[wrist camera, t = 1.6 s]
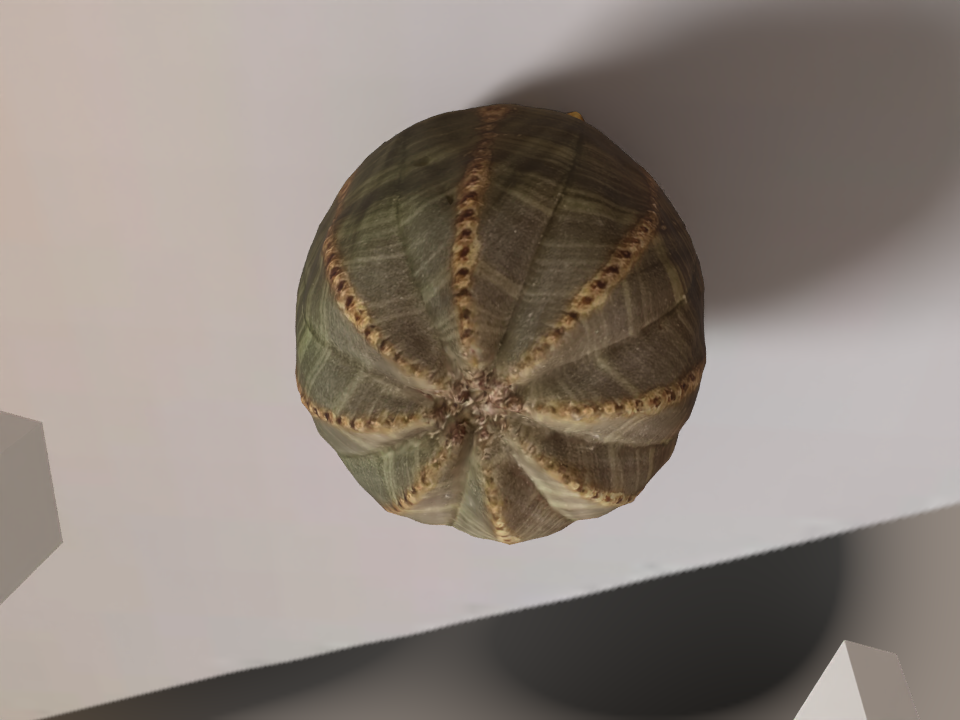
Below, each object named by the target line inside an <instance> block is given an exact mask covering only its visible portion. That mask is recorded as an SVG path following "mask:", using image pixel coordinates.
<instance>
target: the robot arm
mask: <svg viewBox="0 0 960 720" xmlns="http://www.w3.org/2000/svg"><path fill="white" fill-rule="evenodd" d="M62 543H63V540H62V535H61V529H60V523H59V517H58V512H57V506H56V500H55V494H54V489H53V483H52V477H51V471H50V466H49V460H48V454H47V448H46V443H45V437H44V431H43V426H42V422H39V421H36V420H32V419H28V418H25V417H21V416H17V415H14V414H10V413H6V412H3V411H0V605H1V604H2V603H3V602H4V601H5V600H6V599H7V598H8V597H9V596H10V595H11V594H12V593H13V592H14V591H15V590H16V589H17V588H18V587H19V586H20V585H21V584H22V583H23V582H24V581H25V580H26V579H27V578H28V577H29V576H30V575H31V574H32V573H33V572H34V571H35V570H36V569H37V568H38V567H39V566H40V565H41V564H42V563H43V562H44V561H45V560H46V559H47V558H48V557H49V556H50V555H51V554H52V553H53V552H54V551H55V550H56V549H57V548H58V547H59V546H60V545H61V544H62ZM794 720H920V719H919V716H918V713H917V711H916V708H915V705H914V702H913V700H912V696H911V694H910V691H909V688H908V685H907V682H906V680H905V677H904V674H903V671H902V668H901V665H900V663H899V660H898V657H897V654H894V653H891V652H887V651H883V650H879V649H876V648H872V647H869V646H865V645H861V644H857V643H853V642H850V641H846V640H844V641H843V643H842V644H841V646H840V647H839V649H838V651H837V652H836V654H835V655H834V657H833V659H832V660H831V662H830V663H829V665H828V667H827V668H826V670H825V671H824V673H823V674H822V676H821V677H820V679H819V681H818V682H817V684H816V685H815V687H814V688H813V690H812V692H811V693H810V695H809V696H808V698H807V700H806V701H805V703H804V704H803V706H802V707H801V709H800V711H799V712H798V714H797V716H796V717H795V719H794Z"/></svg>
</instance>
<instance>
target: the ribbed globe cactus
mask: <svg viewBox="0 0 960 720" xmlns="http://www.w3.org/2000/svg"><path fill="white" fill-rule="evenodd" d="M295 327H296V371H295V374H296V381H297V387H298V391H299V392H300V395H301V401H302V403H303V404H304V406H305V407H306V408H307V409H308V411H309V412H310V414H311V415H312V417H313V420H314V423H315V425H316V428H317V430H318V432H319V434H320V435H321V436H322V437H323V438H324V440H326V441H327V442H328V443H329V444H330V445H331V446H332V448H333V449H335V451H336V452H337V454H338V456H339V457H340V458H341V460H342V461H343V463H344V464H345V466H346V467H347V469H348V470H349V471H350V472H351V474H352V475H353V476H354V478H355V479H356V480H357V482H358V483H359V484H360V485H361V486H362V487H363V488H364V489H365V490H366V491H367V492H368V493H369V494H370V495H371V496H372V497H373V498H374V499H375V500H376V501H377V502H378V503H379V504H380V505H381V506H382V507H383V508H384V509H385V510H386V511H387V512H390V513H394V514H397V515H400V516H404V517H408V518H411V519H413V520H415V521H418V522H420V523H424V524H430V525H448V526H453V527H455V528H456V529H458V530H460V531H463V532H465V533H467V534H469V535H471V536H474V537H478V538H483V539H490V540H495V541H498V542H502V543H506V544H509V545H511V544H515V543H519V542H523V541H527V540H531V539H536V538H540V537H545V536H548V535H551V534H553V533H555V532H558V531H560V530H562V529H564V528H565V527H567V526H568V525H570V524H571V523H573V522H575V521H576V520H583V519H591V518H598V517H600V516H603V515H605V514H607V513H609V512H611V511H612V510H614V509H616V508H618V507H620V506H622V505H625V504H628V503H631V502H633V501H634V499H635V497H636V496H638V495H639V494H640V492H641V491H642V490H643V489H644V488H645V486H646V484H647V483H648V482H649V481H650V479H651V478H652V477H653V476H654V475H655V474H656V473H657V472H658V470H659V469H660V468H661V467H662V466H663V465H664V464H665V463H666V462H667V461H668V460H669V459H670V457H671V455H672V453H673V451H674V448H675V445H676V442H677V438H678V434H679V431H680V430H681V428H682V427H683V425H684V424H685V422H686V421H687V420H688V419H689V417H690V414H691V412H692V409H693V406H694V404H695V401H696V398H697V394H698V391H699V387H700V382H701V378H702V373H703V370H704V367H705V364H706V346H705V338H704V281H703V276H702V272H701V267H700V262H699V260H698V257H697V254H696V252H695V249H694V247H693V244H692V241H691V238H690V236H689V234H688V232H687V231H686V228H685V224H684V223H683V221H682V220H681V218H680V217H679V215H678V213H677V212H676V210H675V209H674V207H673V205H672V204H671V202H670V201H669V200H668V198H667V197H666V195H665V194H664V192H663V191H662V190H661V188H660V187H659V185H658V184H657V183H656V181H655V180H654V179H653V178H652V177H651V175H650V174H649V173H648V172H647V171H646V170H645V169H644V168H642V167H641V166H640V165H638V164H637V163H636V162H635V161H634V160H632V159H631V158H630V157H629V156H628V155H627V154H626V153H624V152H623V151H622V150H621V149H620V148H619V147H618V146H617V145H616V144H615V143H613V142H612V141H611V140H610V139H609V138H608V137H606V136H605V135H604V134H603V133H601V132H600V131H599V130H597V129H596V128H594V127H593V126H591V125H589V124H588V123H586V122H585V121H584V119H583V118H582V116H581V114H579V113H578V112H576V111H575V112H571V113H567V114H565V113H561V112H557V111H553V110H548V109H541V108H532V107H526V106H521V105H517V104H495V105H489V106H481V107H476V108H470V109H466V110H458V111H452V112H446V113H443V114H439V115H436V116H433V117H430V118H428V119H426V120H423V121H421V122H418V123H416V124H414V125H412V126H411V127H409V128H407V129H405V130H403V131H402V132H400V133H399V134H397V135H395V136H394V137H393V138H391V139H390V140H388V141H387V142H384V143H383V144H382V145H381V146H380V147H379V148H377V149H376V150H375V151H374V152H373V153H371V154H370V155H369V156H368V157H367V158H366V159H365V160H364V161H363V163H362V164H361V165H360V166H359V167H358V168H357V169H356V171H355V172H354V173H353V174H352V175H351V176H350V177H349V178H348V179H347V181H346V182H345V184H344V185H343V187H342V188H341V190H340V191H339V193H338V195H337V196H336V198H335V200H334V202H333V204H332V206H331V208H330V209H329V211H328V212H327V214H326V215H325V217H324V219H323V220H322V222H321V224H320V225H319V228H318V230H317V233H316V236H315V238H314V240H313V243H312V245H311V247H310V250H309V253H308V256H307V259H306V262H305V265H304V268H303V272H302V275H301V278H300V283H299V287H298V292H297V304H296V326H295Z"/></svg>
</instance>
